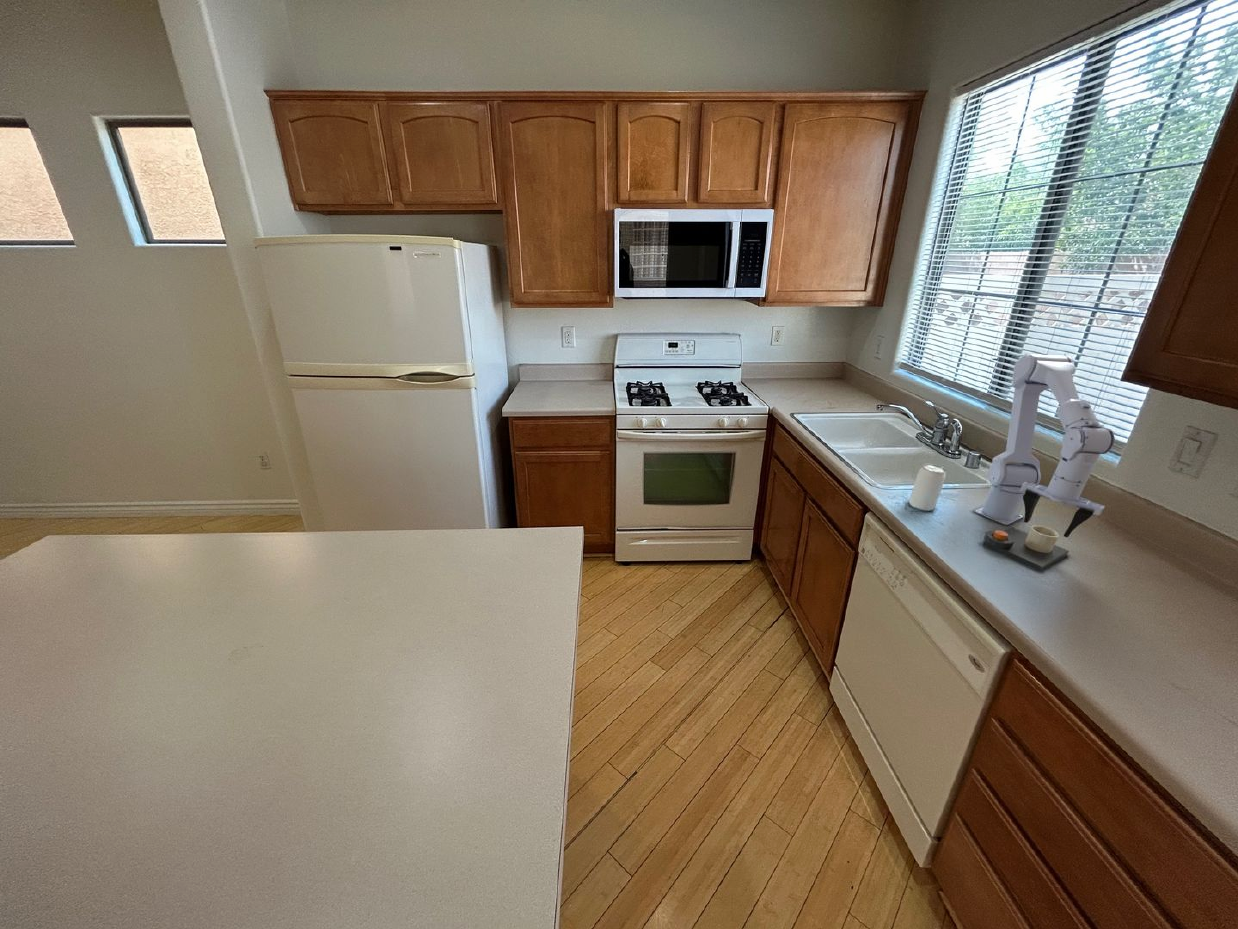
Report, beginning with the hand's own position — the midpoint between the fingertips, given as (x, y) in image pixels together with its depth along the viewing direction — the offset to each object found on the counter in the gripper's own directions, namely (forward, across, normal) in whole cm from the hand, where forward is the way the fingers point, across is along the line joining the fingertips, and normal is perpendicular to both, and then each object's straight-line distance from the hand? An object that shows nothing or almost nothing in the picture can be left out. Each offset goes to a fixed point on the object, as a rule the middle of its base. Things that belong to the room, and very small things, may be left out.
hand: (1046, 528), depth 113 cm
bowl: (+5, 0, 0) cm, 5 cm away
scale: (+7, -2, -2) cm, 7 cm away
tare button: (+4, -6, -6) cm, 10 cm away
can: (+7, -27, 0) cm, 28 cm away
